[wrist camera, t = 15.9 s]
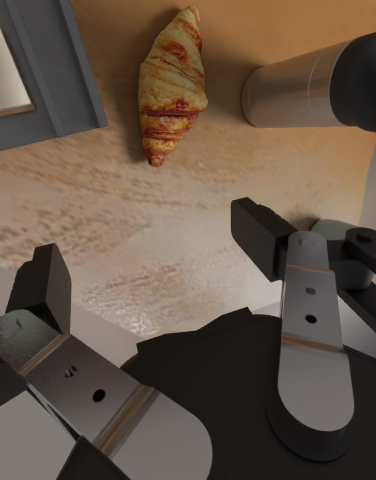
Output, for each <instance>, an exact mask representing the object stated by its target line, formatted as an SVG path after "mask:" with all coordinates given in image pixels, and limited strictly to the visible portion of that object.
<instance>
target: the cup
mask: <svg viewBox="0 0 376 480" xmlns="http://www.w3.org/2000/svg"><path fill="white" fill-rule="evenodd" d="M356 227H359V226H356V225H352V224H349V223H346V222H342V221H338V220H333V219H323V220H320V221H318V222H317V223H316V224H315V225H314V226H313V227H312V229H311V231H312V232H316V233H318V234H320V235H322V236H323V237H324V238H325V239H326V240H343V239H344V237H345V233H346V231H347V230H349V229H351V228H356Z"/></svg>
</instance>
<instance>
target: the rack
mask: <svg viewBox="0 0 376 480" xmlns="http://www.w3.org/2000/svg"><path fill="white" fill-rule="evenodd" d="M0 25H2V27H3V29H4V31H5V34H6V36H7V39H8V41H9V44H10V46H11V49H12V51H13V53H14V56H15V58H16V61H17V63H18V66H19V68H20V71H21V73H22V76H23V78H24V81H25V83H26V85H27V88H28V90H29V93H30V95H31V98H32V100H33V103H34V105H35V108H36V110H34V111H29V112H24V113H19V114H14V115H9V116H4V117H0V151H2V150H6V149H10V148H15V147H19V146H23V145H27V144H32V143H36V142H40V141H44V140H48V139H53V138H57V137H58V138H61V137H65V135H70V134H74V133H78V132H82V131H86V130H91V129H95V128H102V127H106V126H108V123H107V119H106V116H105V113H104V110H103V107H102V103H101V100H100V97H99V94H98V90H97V87H96V84H95V81H94V77H93V74H92V71H91V68H90V64H89V61H88V58H87V55H86V51H85V48H84V45H83V42H82V39H81V35H80V32H79V29H78V26H77V22H76V19H75V16H74V13H73V9H72V6H71V3H70V0H0Z"/></svg>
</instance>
